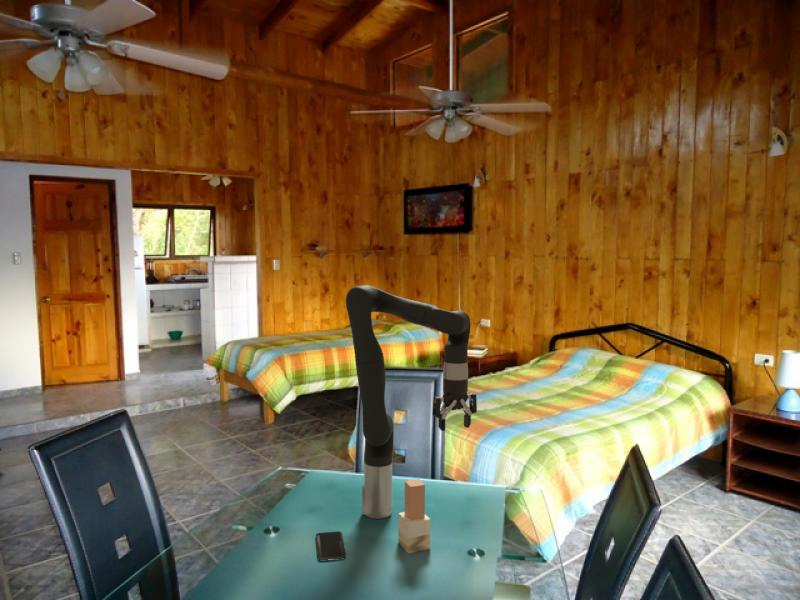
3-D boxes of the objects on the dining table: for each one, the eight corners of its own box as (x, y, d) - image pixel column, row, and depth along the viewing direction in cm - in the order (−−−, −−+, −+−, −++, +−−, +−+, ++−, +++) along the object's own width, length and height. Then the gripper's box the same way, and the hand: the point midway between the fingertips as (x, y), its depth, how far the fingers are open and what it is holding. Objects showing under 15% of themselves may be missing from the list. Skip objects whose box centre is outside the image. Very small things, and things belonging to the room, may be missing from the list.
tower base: (408, 553, 164) (408, 538, 164) (398, 542, 170) (398, 527, 170) (430, 548, 167) (430, 533, 167) (419, 537, 173) (419, 523, 173)
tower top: (408, 538, 164) (408, 523, 164) (398, 527, 170) (398, 512, 170) (430, 534, 167) (430, 519, 166) (420, 523, 173) (420, 509, 173)
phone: (318, 559, 159) (315, 533, 174) (318, 562, 159) (315, 536, 174) (346, 556, 161) (341, 531, 176) (346, 560, 161) (341, 534, 176)
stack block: (410, 520, 165) (410, 486, 164) (404, 513, 169) (404, 481, 169) (424, 518, 167) (425, 484, 166) (418, 511, 171) (418, 478, 170)
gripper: (441, 381, 168) (440, 435, 169) (482, 376, 174) (481, 429, 175) (429, 376, 175) (428, 428, 176) (468, 372, 181) (468, 422, 182)
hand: (454, 428), depth 176 cm, fingers open, 8 cm apart
